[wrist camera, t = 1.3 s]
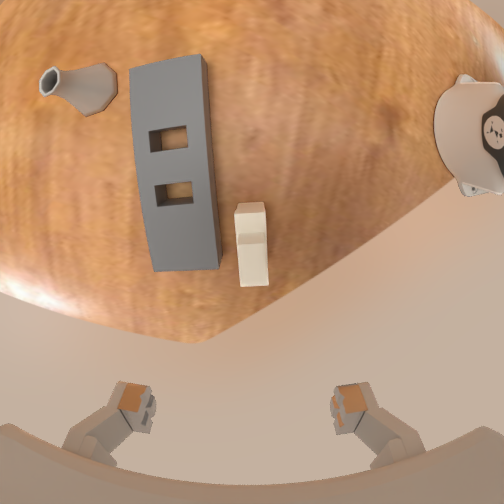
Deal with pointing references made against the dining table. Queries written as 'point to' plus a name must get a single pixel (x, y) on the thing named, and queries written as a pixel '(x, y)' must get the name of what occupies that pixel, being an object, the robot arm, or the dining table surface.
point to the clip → (251, 243)
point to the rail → (176, 163)
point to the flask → (81, 87)
